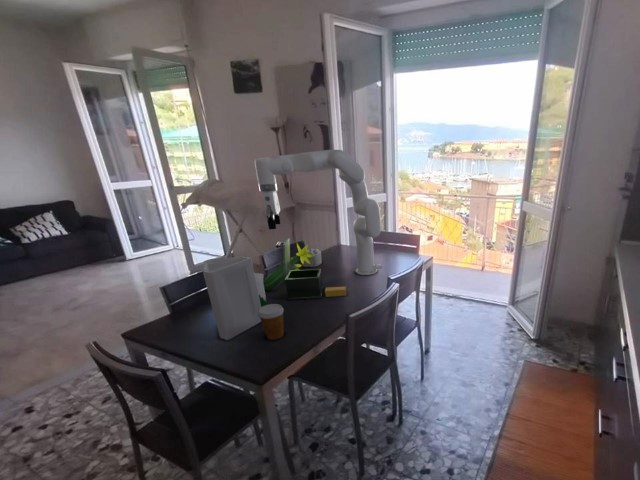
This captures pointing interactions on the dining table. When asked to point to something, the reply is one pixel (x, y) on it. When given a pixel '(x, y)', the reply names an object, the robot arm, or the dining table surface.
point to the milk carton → (261, 289)
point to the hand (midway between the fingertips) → (274, 226)
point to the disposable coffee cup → (272, 320)
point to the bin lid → (285, 255)
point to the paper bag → (232, 294)
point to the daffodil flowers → (279, 271)
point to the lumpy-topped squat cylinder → (313, 258)
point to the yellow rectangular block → (335, 291)
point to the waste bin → (304, 284)
